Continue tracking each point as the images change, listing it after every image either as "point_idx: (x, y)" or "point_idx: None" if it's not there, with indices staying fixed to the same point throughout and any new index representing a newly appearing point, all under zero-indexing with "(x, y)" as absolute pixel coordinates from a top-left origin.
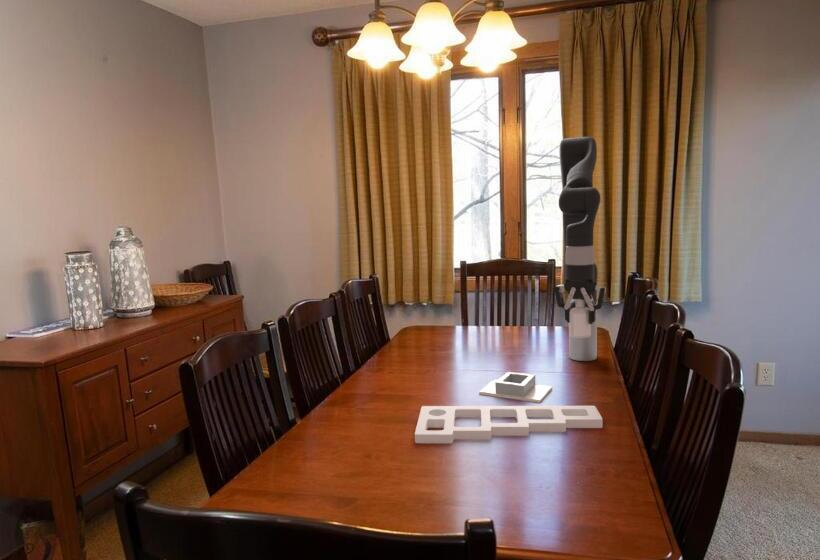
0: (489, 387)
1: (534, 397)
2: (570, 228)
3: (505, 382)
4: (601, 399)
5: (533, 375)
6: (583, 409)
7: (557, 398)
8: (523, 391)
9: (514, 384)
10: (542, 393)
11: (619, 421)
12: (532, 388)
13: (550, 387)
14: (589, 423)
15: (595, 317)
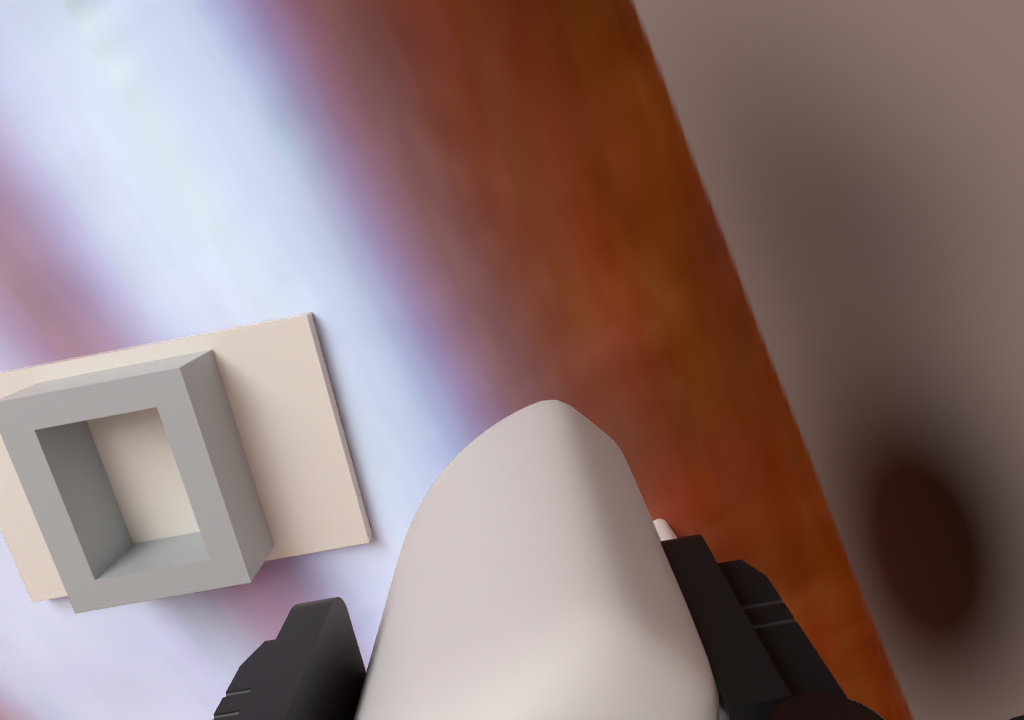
0: (27, 523)
1: (325, 526)
2: None
3: (126, 588)
4: (623, 314)
5: (177, 384)
6: None
7: (413, 429)
8: (260, 562)
9: (191, 589)
10: (326, 451)
11: (790, 539)
12: (232, 408)
13: (308, 335)
14: None
15: (782, 607)
